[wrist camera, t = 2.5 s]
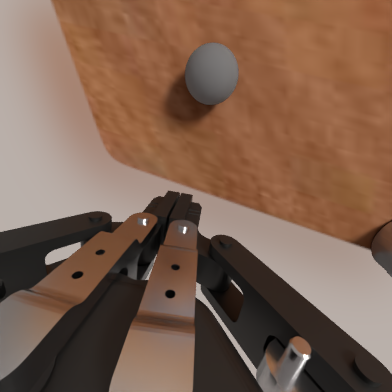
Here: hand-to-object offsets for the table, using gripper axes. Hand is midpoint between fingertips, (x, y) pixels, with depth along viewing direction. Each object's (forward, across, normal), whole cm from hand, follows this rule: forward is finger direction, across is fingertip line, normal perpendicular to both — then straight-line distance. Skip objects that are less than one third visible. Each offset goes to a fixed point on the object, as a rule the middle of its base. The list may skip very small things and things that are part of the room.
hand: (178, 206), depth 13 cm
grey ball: (+12, 0, -10) cm, 15 cm away
